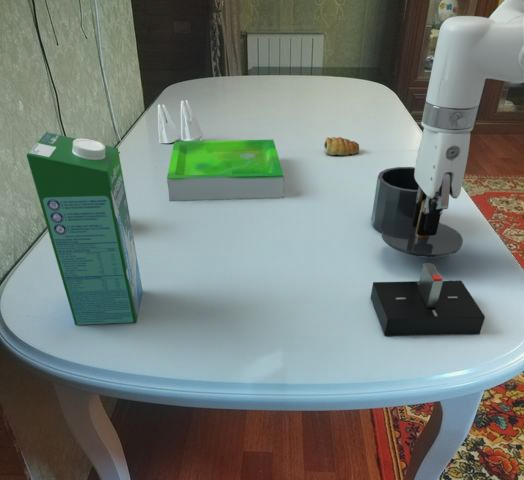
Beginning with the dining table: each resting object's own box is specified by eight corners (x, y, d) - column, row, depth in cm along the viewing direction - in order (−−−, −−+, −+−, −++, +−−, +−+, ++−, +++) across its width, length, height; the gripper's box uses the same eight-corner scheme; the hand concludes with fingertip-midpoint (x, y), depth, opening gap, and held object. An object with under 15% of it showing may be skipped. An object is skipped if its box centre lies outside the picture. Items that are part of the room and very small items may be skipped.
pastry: (356, 148, 139) (357, 133, 136) (361, 156, 133) (362, 141, 131) (322, 148, 138) (323, 134, 136) (325, 157, 133) (327, 142, 131)
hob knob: (417, 289, 77) (423, 261, 74) (426, 289, 77) (433, 261, 74) (426, 307, 73) (433, 279, 70) (436, 307, 73) (443, 279, 70)
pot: (425, 211, 106) (435, 166, 100) (444, 239, 97) (456, 190, 91) (365, 212, 106) (372, 167, 100) (378, 240, 96) (386, 191, 90)
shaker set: (203, 141, 143) (200, 98, 136) (200, 146, 140) (197, 102, 133) (163, 139, 145) (158, 97, 138) (158, 144, 142) (153, 101, 135)
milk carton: (136, 322, 76) (103, 151, 60) (74, 325, 75) (25, 153, 59) (142, 290, 83) (114, 129, 67) (86, 292, 82) (44, 130, 66)
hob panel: (456, 296, 81) (461, 279, 79) (480, 333, 73) (486, 316, 71) (370, 298, 81) (373, 281, 79) (384, 336, 73) (387, 318, 71)
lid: (446, 224, 94) (456, 186, 89) (473, 260, 83) (485, 219, 79) (373, 225, 93) (379, 186, 89) (391, 261, 83) (399, 220, 78)
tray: (176, 161, 130) (174, 141, 127) (273, 159, 131) (273, 139, 128) (169, 200, 111) (166, 178, 108) (283, 197, 112) (283, 175, 109)
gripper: (495, 132, 69) (460, 252, 81) (455, 102, 82) (430, 210, 93) (441, 132, 69) (414, 253, 80) (409, 102, 81) (390, 211, 93)
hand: (423, 229), depth 87 cm, fingers closed on lid, 2 cm apart
